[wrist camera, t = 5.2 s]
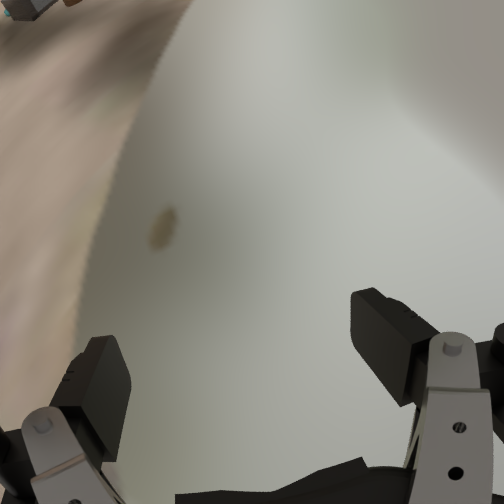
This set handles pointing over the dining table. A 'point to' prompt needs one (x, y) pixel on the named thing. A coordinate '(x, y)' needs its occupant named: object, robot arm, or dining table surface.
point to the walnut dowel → (71, 2)
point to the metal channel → (27, 8)
